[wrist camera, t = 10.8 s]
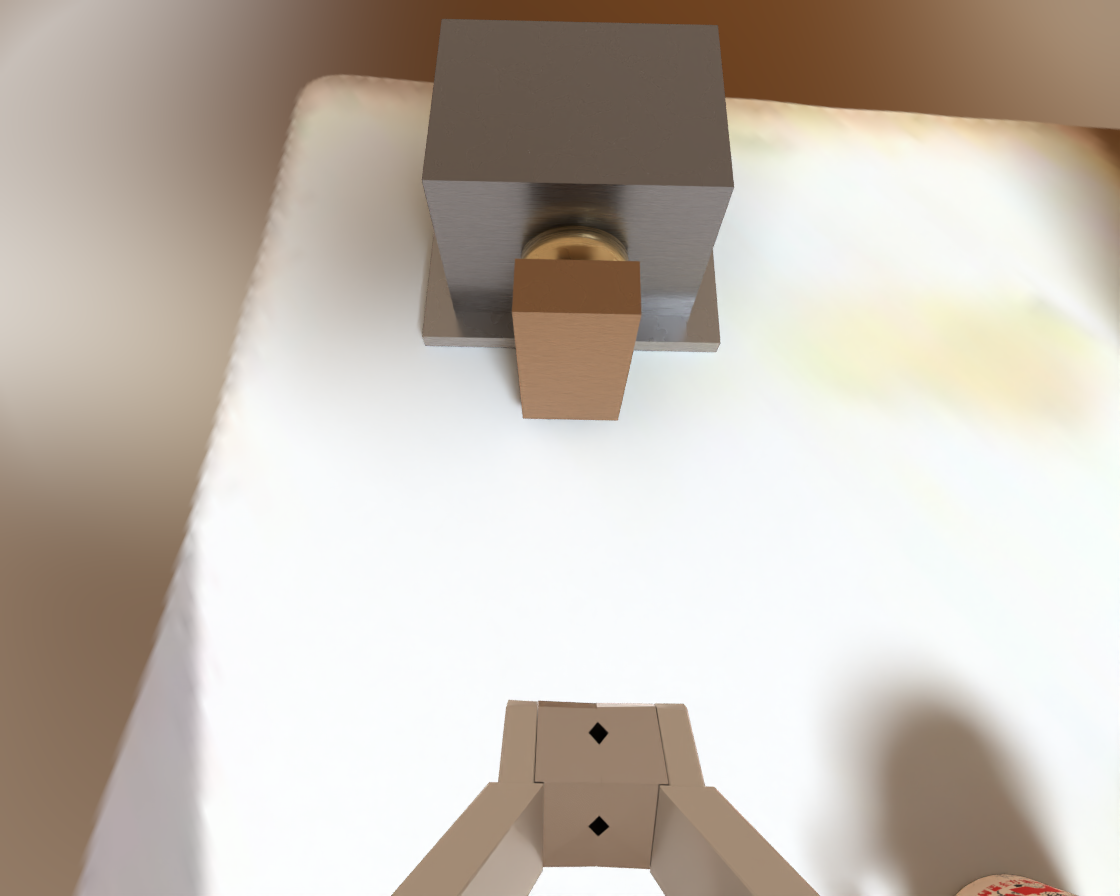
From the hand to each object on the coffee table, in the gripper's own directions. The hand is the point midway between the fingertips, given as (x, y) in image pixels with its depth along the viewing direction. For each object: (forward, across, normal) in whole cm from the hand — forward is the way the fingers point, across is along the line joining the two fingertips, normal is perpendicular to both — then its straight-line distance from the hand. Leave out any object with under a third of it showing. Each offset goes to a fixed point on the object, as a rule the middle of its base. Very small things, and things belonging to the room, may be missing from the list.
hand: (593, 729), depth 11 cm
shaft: (+38, 0, -1) cm, 38 cm away
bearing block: (+42, 0, -3) cm, 42 cm away
